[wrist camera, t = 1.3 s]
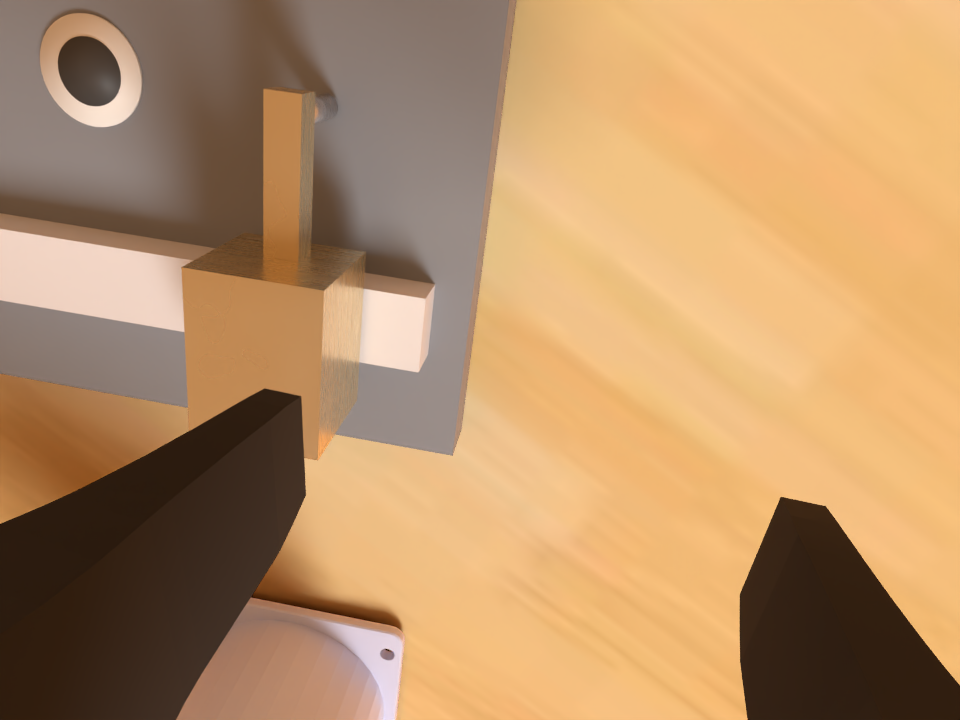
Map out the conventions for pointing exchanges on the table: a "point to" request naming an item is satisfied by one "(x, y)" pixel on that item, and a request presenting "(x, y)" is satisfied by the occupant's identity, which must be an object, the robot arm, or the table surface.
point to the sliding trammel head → (278, 293)
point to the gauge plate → (246, 182)
